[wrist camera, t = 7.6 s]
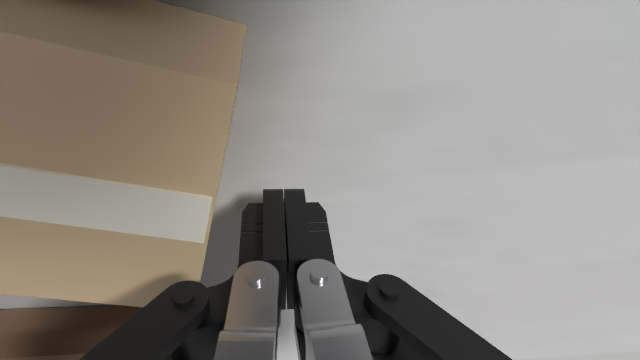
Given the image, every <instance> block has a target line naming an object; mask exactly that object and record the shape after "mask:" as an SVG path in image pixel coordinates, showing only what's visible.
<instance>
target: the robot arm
mask: <svg viewBox="0 0 640 360" xmlns="http://www.w3.org/2000/svg"><path fill="white" fill-rule="evenodd" d="M286 292H287V309H294V317H295V322H294V333H295V339H296V346H297V353H298V359H299V360H512V359H511V358H509V357H508V356H507V355H505V354H504V353H502V352H501V351H500V350H498V349H497V348H496V347H494V346H493V345H491V344H490V343H489V342H487V341H486V340H485V339H483V338H482V337H480V336H479V335H478V334H476V333H475V332H474V331H472V330H471V329H469V328H468V327H467V326H465V325H464V324H463V323H461V322H460V321H458V320H457V319H456V318H454V317H453V316H451V315H450V314H449V313H447V312H446V311H445V310H443V309H442V308H440V307H439V306H438V305H436V304H435V303H434V302H432V301H431V300H429V299H428V298H427V297H425V296H424V295H423V294H421V293H420V292H418V291H417V290H416V289H414V288H413V287H412V286H410V285H409V284H407V283H406V282H405V281H403V280H402V279H400V278H398V277H396V276H393V275H389V274H381V275H377V276H374V277H373V278H371V279H370V280H369V282H364V281H360V280H356V279H353V278H350V277H348V276H346V275H344V274H343V273H342V272H341V271H340V270H339V269H338V267H337V266H336V264H335V261H334V255H333V250H332V244H331V239H330V233H329V228H328V223H327V217H326V211H325V210H324V209H323V208H322V206H321V205H320V204H319V203H318V202H310V203H306V200H305V192H304V189H284V199H283V189H263V203H249V204H248V205H247V207H246V208H245V210H244V211H243V212H242V225H241V237H240V251H239V264H238V268H237V270H236V272H235V274H234V275H233V276H232V277H231V278H230V279H228V280H227V281H225V282H223V283H221V284H219V285H215V286H212V287H209V288H206V287H205V286H204V285H203V284H201V283H199V282H196V281H181V282H177V283H175V284H173V285H171V286H169V287H168V288H167V289H165V290H164V291H163V292H162V293H160V294H159V295H158V296H157V297H155V298H154V299H153V300H152V301H151V302H149V303H148V304H147V305H146V306H144V307H143V308H142V309H141V310H139V311H138V312H137V313H136V314H135V315H133V316H132V317H131V318H130V319H128V320H127V321H126V322H125V323H123V324H122V325H121V326H120V327H119V328H117V329H116V330H115V331H114V332H112V333H111V334H110V335H109V336H108V337H106V338H105V339H104V340H103V341H101V342H100V343H99V344H98V345H96V346H95V347H94V348H93V349H92V350H90V351H89V352H88V353H87V354H85V355H84V356H83V357H82V358H80V359H79V360H277V345H278V329H279V326H280V317H281V310H282V309H285V307H286Z"/></svg>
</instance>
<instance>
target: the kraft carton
mask: <svg viewBox="0 0 640 360" xmlns="http://www.w3.org/2000/svg"><path fill="white" fill-rule="evenodd" d="M246 26H247V25H246V24H242V23H238V22H235V21H231V20H227V19H223V18H219V17H216V16H212V15H208V14H204V13H201V12H197V11H193V10H189V9H185V8H182V7H178V6H174V5H170V4H166V3H163V2H159V1H155V0H0V294H4V295H15V296H26V297H36V298H47V299H58V300H69V301H80V302H91V303H102V304H113V305H123V306H134V307H144V306H146V305H147V304H148V303H149V302H151V301H152V300H153V299H154V298H155V297H157V296H158V295H159V294H160V293H162V292H163V291H164V290H165V289H167V288H168V287H169V286H171V285H173V284H175V283H177V282H181V281H196V282H199V283H200V281H201V275H202V270H203V265H204V260H205V255H206V249H207V244H208V239H209V234H210V228H211V223H212V218H213V213H214V207H215V202H216V197H217V192H218V186H219V181H220V176H221V171H222V166H223V160H224V155H225V150H226V145H227V139H228V134H229V129H230V124H231V118H232V113H233V108H234V103H235V98H236V92H237V87H238V81H239V74H240V67H241V60H242V53H243V46H244V40H245V33H246Z"/></svg>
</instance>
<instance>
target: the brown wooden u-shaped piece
mask: <svg viewBox="0 0 640 360" xmlns="http://www.w3.org/2000/svg"><path fill="white" fill-rule="evenodd" d="M142 308H143V307H134V306H123V305H110V306H82V307H54V308H26V309H0V360H79V359H80V358H82V357H83V356H84V355H85V354H87V353H88V352H89V351H90V350H92V349H93V348H94V347H95V346H96V345H98V344H99V343H100V342H101V341H103V340H104V339H105V338H106V337H108V336H109V335H110V334H111V333H112V332H114V331H115V330H116V329H117V328H119V327H120V326H121V325H122V324H123V323H125V322H126V321H127V320H128V319H130V318H131V317H132V316H133V315H135V314H136V313H137V312H138V311H139V310H141V309H142Z"/></svg>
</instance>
